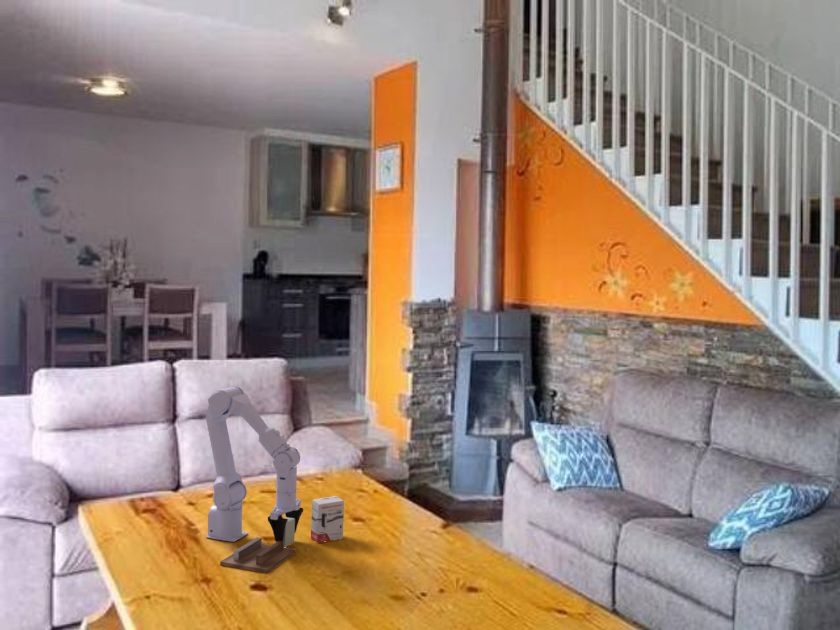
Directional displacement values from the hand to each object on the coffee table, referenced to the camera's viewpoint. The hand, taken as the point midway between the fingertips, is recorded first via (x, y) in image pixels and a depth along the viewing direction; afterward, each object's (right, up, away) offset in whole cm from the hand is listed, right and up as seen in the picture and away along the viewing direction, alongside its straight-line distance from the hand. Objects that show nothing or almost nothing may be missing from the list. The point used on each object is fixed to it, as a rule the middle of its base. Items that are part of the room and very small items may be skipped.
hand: (285, 537), depth 225 cm
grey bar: (-8, -2, -11) cm, 14 cm away
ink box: (+11, -2, +6) cm, 13 cm away
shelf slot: (-5, -3, -12) cm, 13 cm away
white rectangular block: (0, -2, 0) cm, 2 cm away
